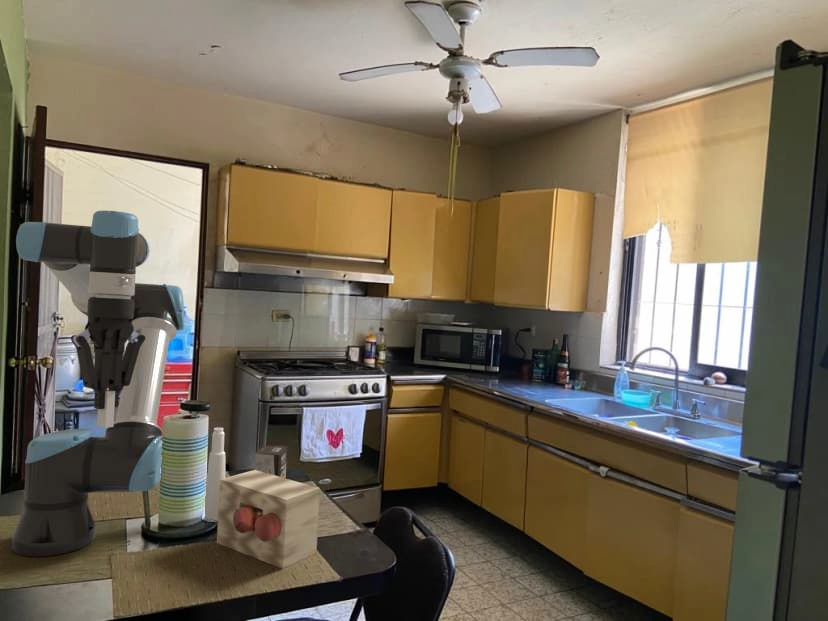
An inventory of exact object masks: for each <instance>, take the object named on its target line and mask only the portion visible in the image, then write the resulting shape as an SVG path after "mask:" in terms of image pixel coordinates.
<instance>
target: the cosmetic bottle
mask: <svg viewBox="0 0 828 621" xmlns="http://www.w3.org/2000/svg"><path fill="white" fill-rule="evenodd" d="M211 437H212V438H211V451H210V452H209V455H208V456H209V457H208V465H207V477H206V486H205V493H206V496H205V495H204V501H205V514H206V517H207V518H211V519H214V520H217V521H218V510H219V491H220V479H223V478H226V452H225V451H224V450H225V449H224V448H225V447H224V446H225V432H224V427H214V428H213V432H212V435H211Z"/></svg>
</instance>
